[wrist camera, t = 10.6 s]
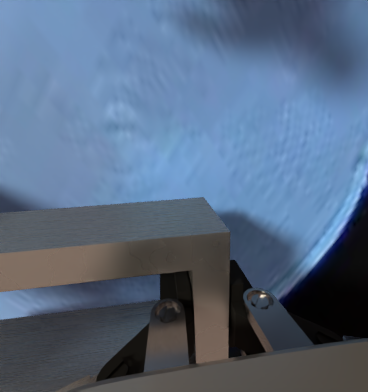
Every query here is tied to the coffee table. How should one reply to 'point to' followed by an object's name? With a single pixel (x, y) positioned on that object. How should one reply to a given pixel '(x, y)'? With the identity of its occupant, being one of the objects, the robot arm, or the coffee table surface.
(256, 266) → the coffee table surface
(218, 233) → the steel C-link
